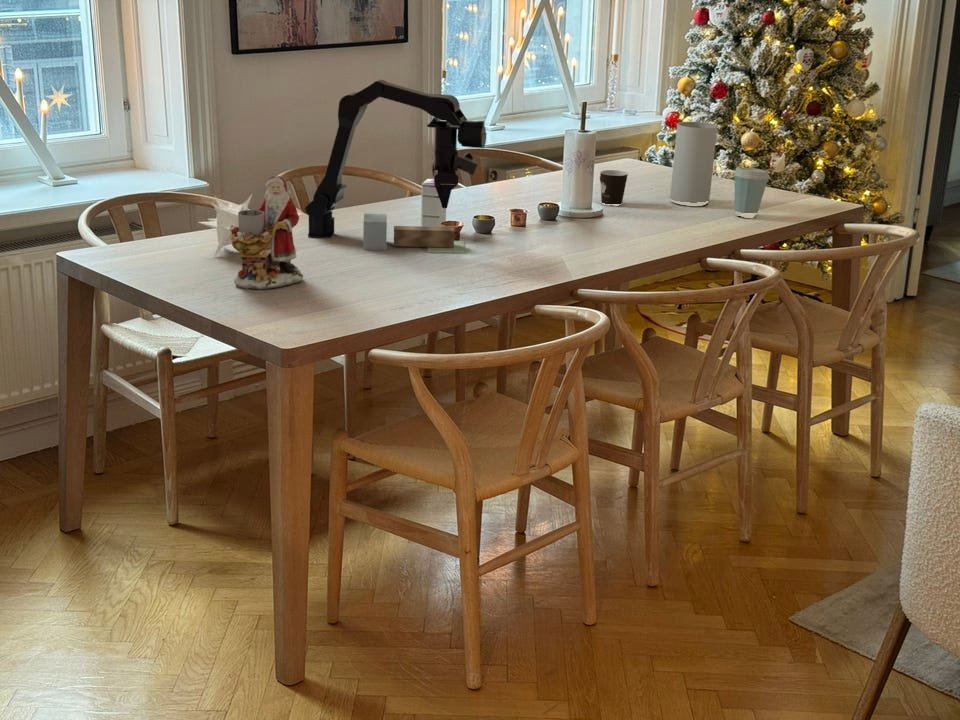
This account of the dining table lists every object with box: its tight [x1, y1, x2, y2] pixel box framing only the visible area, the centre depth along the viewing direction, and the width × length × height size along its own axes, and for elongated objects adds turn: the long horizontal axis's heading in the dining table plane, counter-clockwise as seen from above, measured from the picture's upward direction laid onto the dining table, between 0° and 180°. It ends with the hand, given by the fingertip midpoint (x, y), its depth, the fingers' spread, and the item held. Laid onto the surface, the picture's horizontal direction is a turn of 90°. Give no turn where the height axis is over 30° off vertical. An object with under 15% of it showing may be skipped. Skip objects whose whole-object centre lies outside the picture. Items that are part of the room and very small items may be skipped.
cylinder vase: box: [669, 121, 718, 203], centre depth 375 cm, size 12×12×25 cm
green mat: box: [427, 240, 467, 254], centre depth 316 cm, size 10×12×1 cm
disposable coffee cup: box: [733, 167, 770, 214], centre depth 362 cm, size 11×11×15 cm
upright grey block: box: [362, 212, 388, 251], centre depth 313 cm, size 6×9×8 cm, turn 4°
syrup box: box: [420, 178, 447, 227], centre depth 328 cm, size 6×6×14 cm
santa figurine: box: [230, 175, 304, 290], centre depth 276 cm, size 17×14×25 cm
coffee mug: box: [599, 169, 629, 204], centre depth 373 cm, size 12×9×10 cm
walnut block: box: [393, 225, 455, 248], centre depth 315 cm, size 16×4×4 cm, turn 94°
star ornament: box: [197, 194, 253, 257], centre depth 301 cm, size 20×14×14 cm
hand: (444, 204), depth 312 cm, fingers open, 9 cm apart
